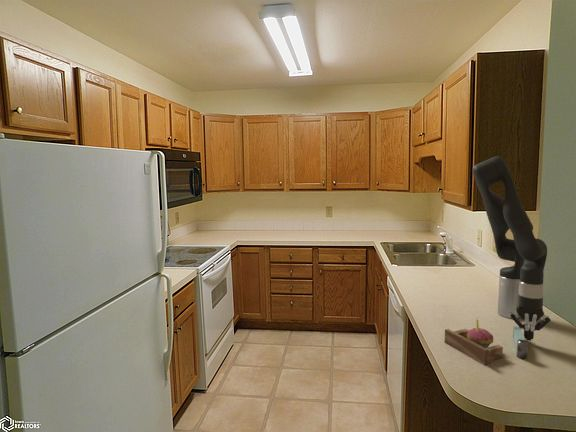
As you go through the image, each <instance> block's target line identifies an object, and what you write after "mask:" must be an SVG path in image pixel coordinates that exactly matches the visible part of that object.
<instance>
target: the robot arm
mask: <svg viewBox="0 0 576 432" xmlns="http://www.w3.org/2000/svg"><path fill="white" fill-rule="evenodd" d="M472 176H473V178H474V181H475V183H476V186H477V188H478V191H479V193H480V196H481V198H482V199H481V200H482V201H483V204H484V208H485V213H486V216H487V218H488V219H487V220H488V221H489V225H490V227H491V228H490V229H491V231H492V234H493V240H494V245H495V246H494V247H495V250H496V254H497V257H498V258H500V259H501V260H505V261H509V262H510V261H511V262H514V265H512V266H506V267H501V268H500V269H499V278H498V279H499V283H498V298H497V314H498V315H499V316H500V317H504V318H506V319H507V318H508V319H512V320H513V321H514V322H515V324H516V325H517V327H520V328H521V329H523V337H524V340H525V341H528V342H529V341H530V342H531V341H532V340H534V337H535V331H538V332H539V331H541V329H543V328H544V327H545V326H546V325H548V324H549V323H550V322H551V318H550V317H549V316H548V315H547V314H545V312H544V309H543V307H544V292H545V291H544V288H545V287H544V273H545V272H544V271H545V270H544V269H545V265H546V262H547V261H546V260H547V257H548V246H547V244H546V243H545V242H544V241H543V240H542V239H540V238H536V237H535V235H534V233H533V230H534V225H533V223H532V221H531V219H530V217H529V216H528V214H527V212H526V210H525V207H524V206H523V203H522V201H521V199H520V195H519V193H518V190H517V187H516V185H515V182H514V180H513V177H512V176H513V175H512V174H511V171H510V169H509V166H508V164H507V163H506V161H505V160H504V158H502V157H501V156H499V155H496V156H493V157H491V158H489V159H486V160H484V161H482V162H479V163H477V164H475V165H473V167H472ZM499 182H502V184H503V187H504V197H502V196H500V195H499V194H497V193H495V192H494V191H493V190H491V188H490V186H492V185H494V184H496V183H499ZM509 230H510V232H511V233H512V234H511V235H512V237H513V239H512V238H507V236H506V235H507V232H508V231H509ZM519 319H521V320H523V323H522V322H521V320H519ZM539 320H540V321H539Z"/></svg>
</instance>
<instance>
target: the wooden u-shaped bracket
mask: <svg viewBox="0 0 576 432" xmlns="http://www.w3.org/2000/svg"><path fill="white" fill-rule="evenodd" d="M469 330H470V329H467V328H463V329H459V330H454V331H453V330H452V329H449V328H446V329H444V344H446V345H449V346H450V347H452V348H454V349H455V350H457V351H459V352H460V353H462V354H464V355H466V356H468V357H470V358H472V359H473V360H475V361H476V362H478V363H480V364H482V365H483V366H486V365H488V364H489V362H493V361H497V360H501V359H503V354H504V353H503V352H504V347H503V346H502V345H499V344H496V345H492V346H491V345H490V346H489V347H487V348H484V347H482V346H480V345H478V344H477V343H475V342H473V341H471V340H469V339H468V338H467V332H468V331H469Z"/></svg>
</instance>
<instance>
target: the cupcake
mask: <svg viewBox="0 0 576 432" xmlns="http://www.w3.org/2000/svg"><path fill="white" fill-rule="evenodd" d="M475 322H476V323H475V324H476V327H475V328H471V329H468V330H469V331H468V332H467V338H468V339H469V340H471V341H473V342H475V343H477V344H478V345H480V346H482V347H484V348H487V347H490V346H491V344H493V343H494V336H493V334H492V333H491V332H489V331H488V330H487V329H485V328H481V327H480V326H479V319H478V318H476V320H475Z"/></svg>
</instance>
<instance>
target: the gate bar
mask: <svg viewBox="0 0 576 432" xmlns="http://www.w3.org/2000/svg"><path fill="white" fill-rule="evenodd" d="M512 331H513V332H512V338H513V341H514V345H515V349H516V350H517V341H518V340H525V337H524V333H523V330H522V328H520V327H519V326H513V329H512Z"/></svg>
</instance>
